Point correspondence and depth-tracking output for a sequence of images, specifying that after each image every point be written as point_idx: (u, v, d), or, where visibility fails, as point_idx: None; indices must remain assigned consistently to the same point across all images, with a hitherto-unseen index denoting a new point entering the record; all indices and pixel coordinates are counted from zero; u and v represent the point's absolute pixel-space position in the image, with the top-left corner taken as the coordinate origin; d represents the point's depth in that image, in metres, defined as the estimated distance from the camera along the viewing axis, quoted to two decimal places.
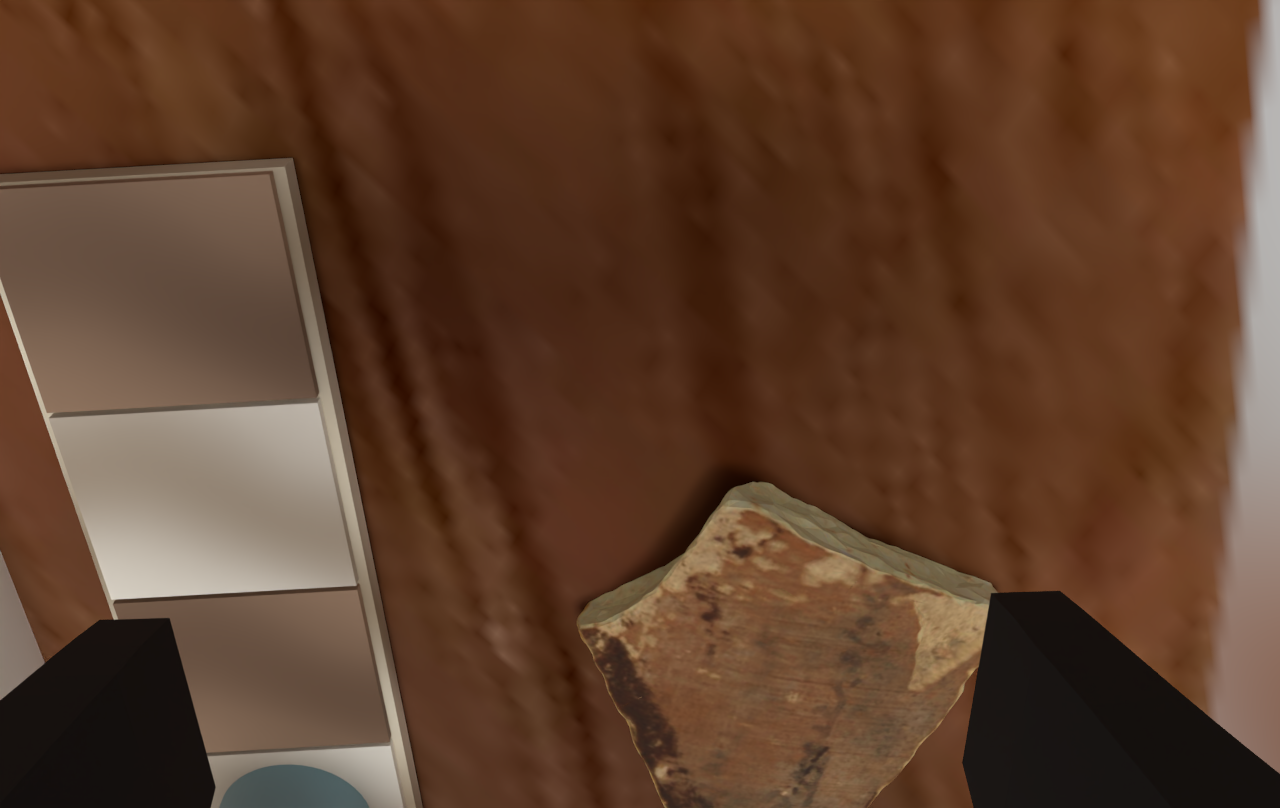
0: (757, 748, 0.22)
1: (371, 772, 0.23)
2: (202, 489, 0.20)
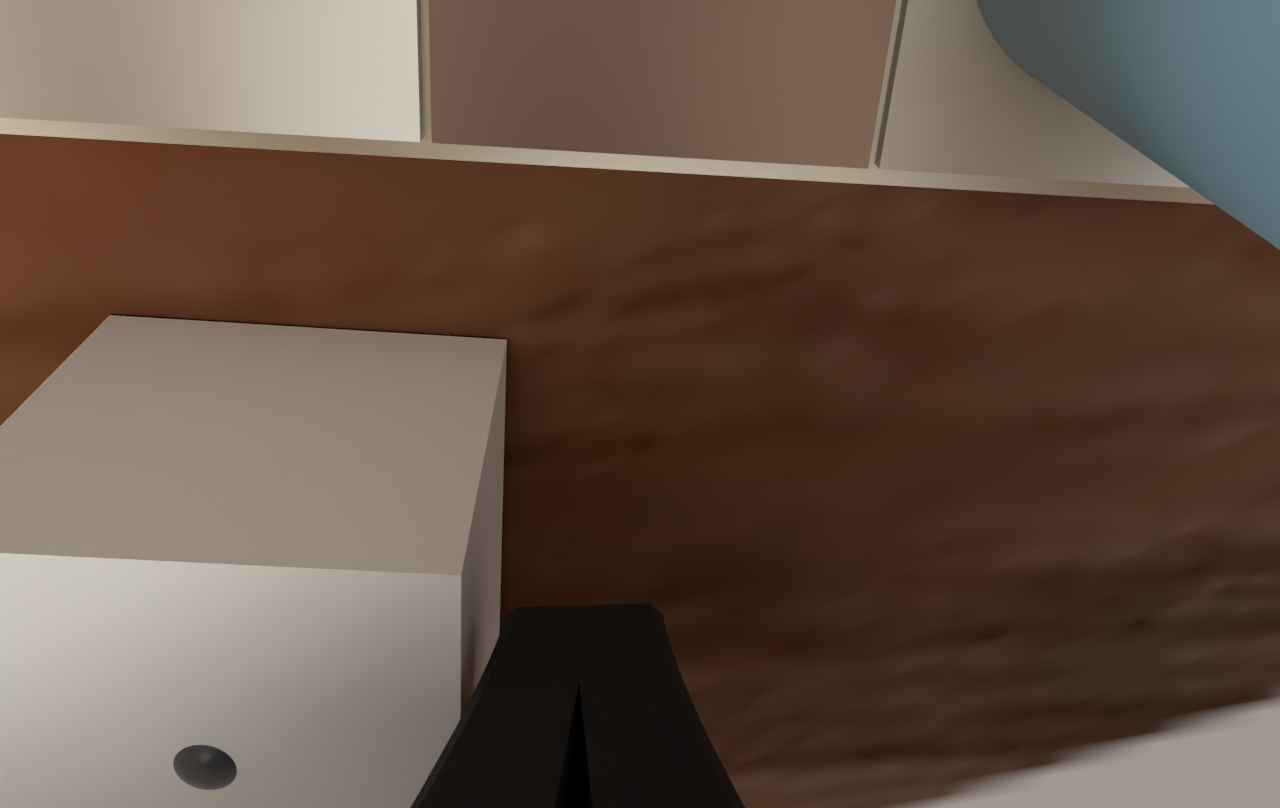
0: None
1: None
2: None
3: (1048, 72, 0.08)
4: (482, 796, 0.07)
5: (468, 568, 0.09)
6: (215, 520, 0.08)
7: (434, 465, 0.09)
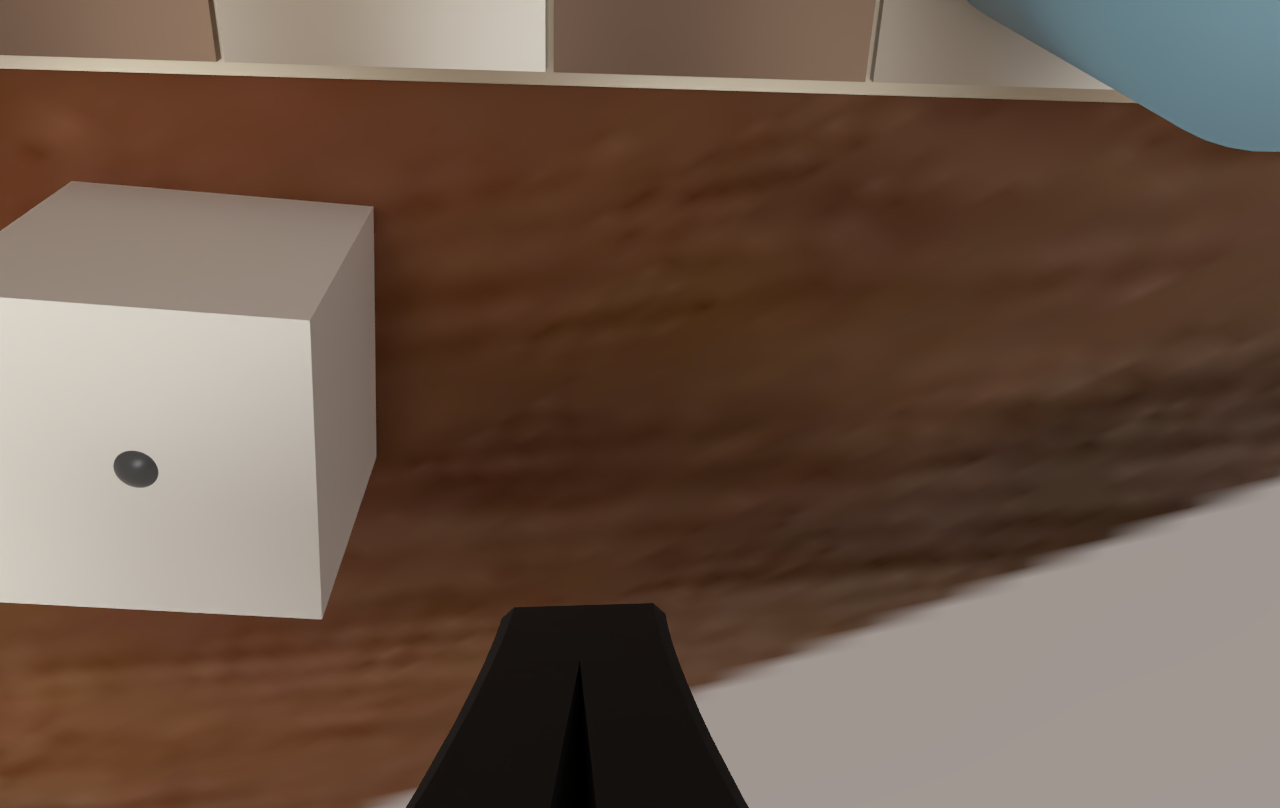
0: None
1: None
2: None
3: None
4: (478, 796, 0.07)
5: (320, 327, 0.12)
6: (144, 288, 0.12)
7: (304, 267, 0.13)
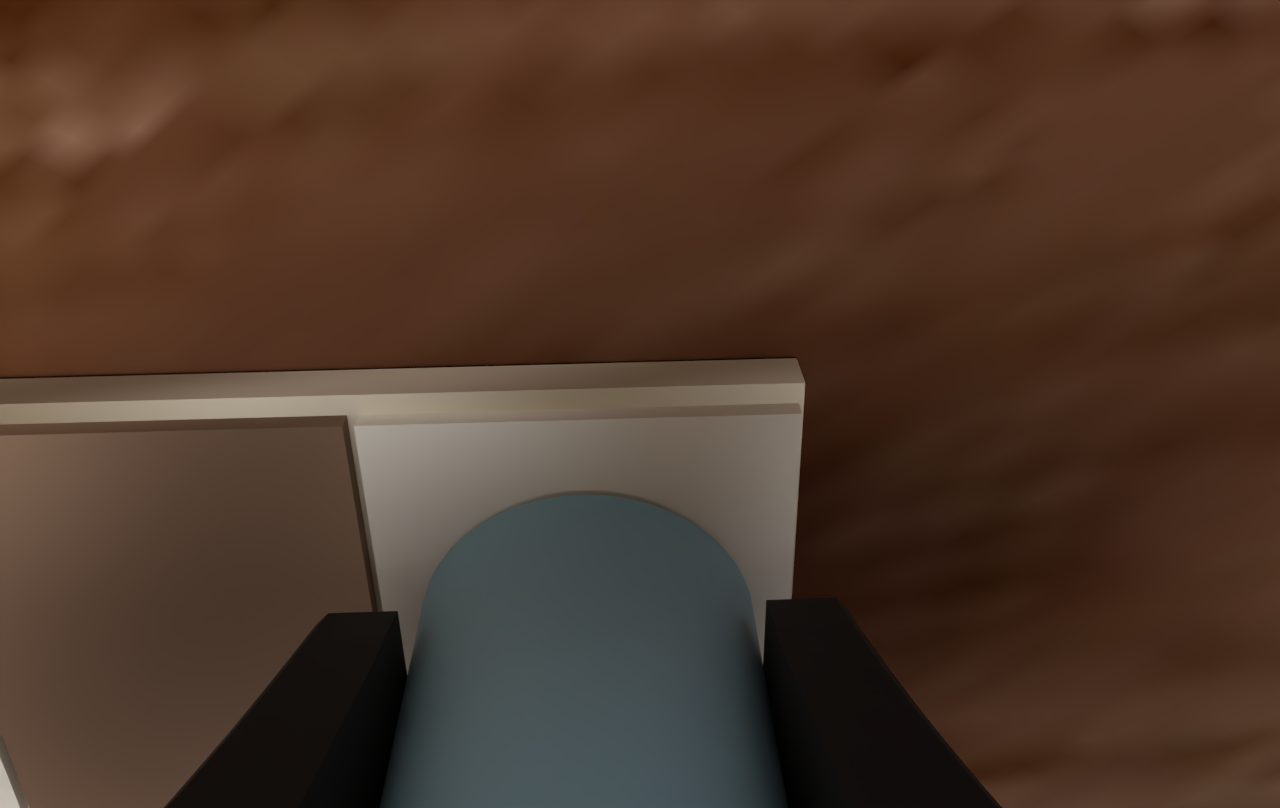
0: None
1: (442, 472, 0.10)
2: None
3: None
4: (226, 804, 0.07)
5: None
6: None
7: None
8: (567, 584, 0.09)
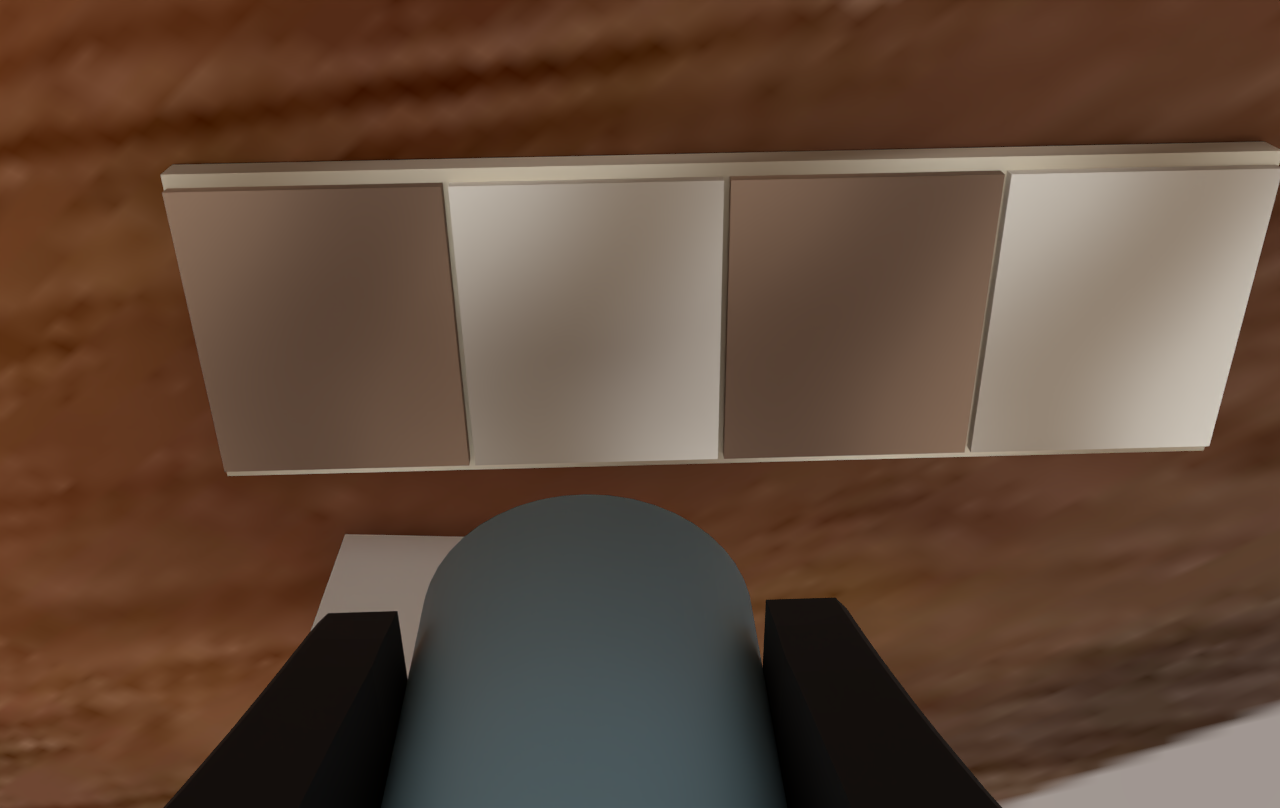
0: None
1: (1056, 207, 0.16)
2: (568, 335, 0.17)
3: None
4: (226, 804, 0.07)
5: None
6: None
7: None
8: (568, 583, 0.09)
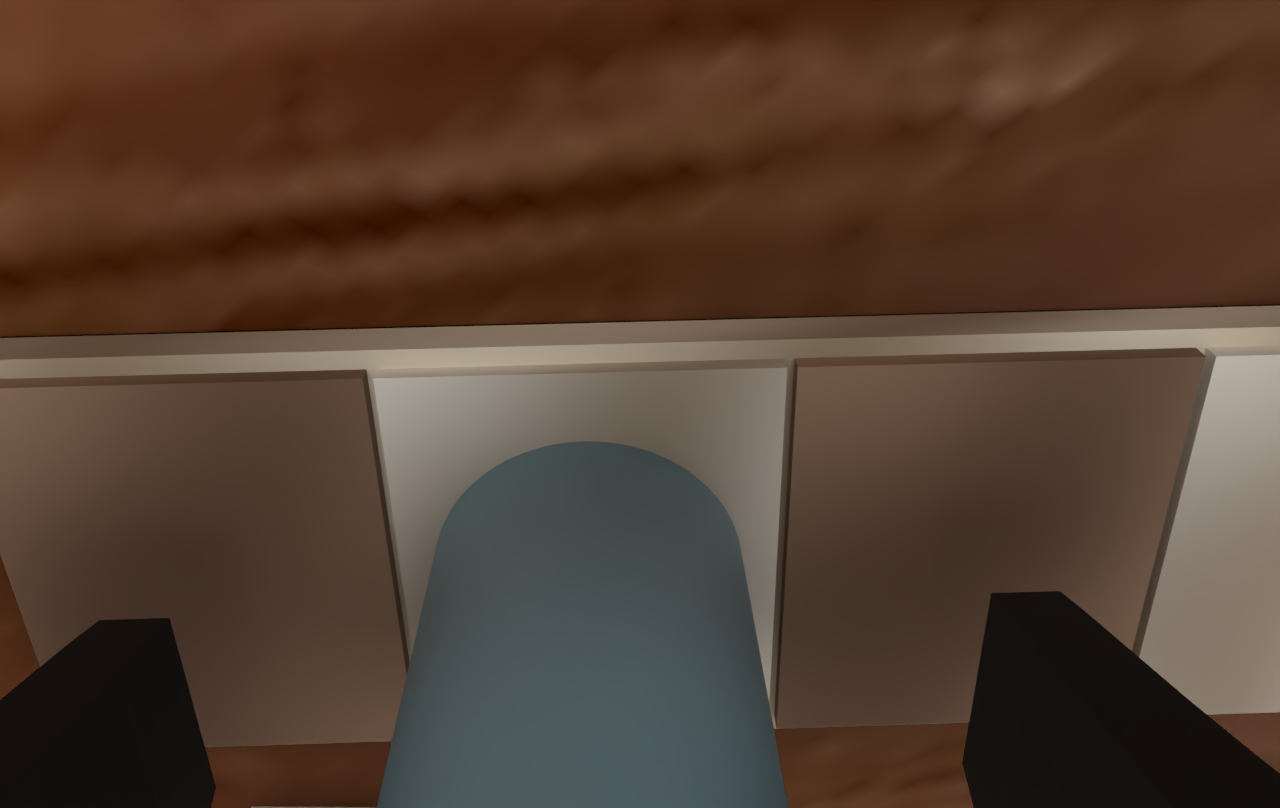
0: None
1: (1277, 401, 0.11)
2: None
3: None
4: None
5: None
6: None
7: None
8: (570, 513, 0.10)
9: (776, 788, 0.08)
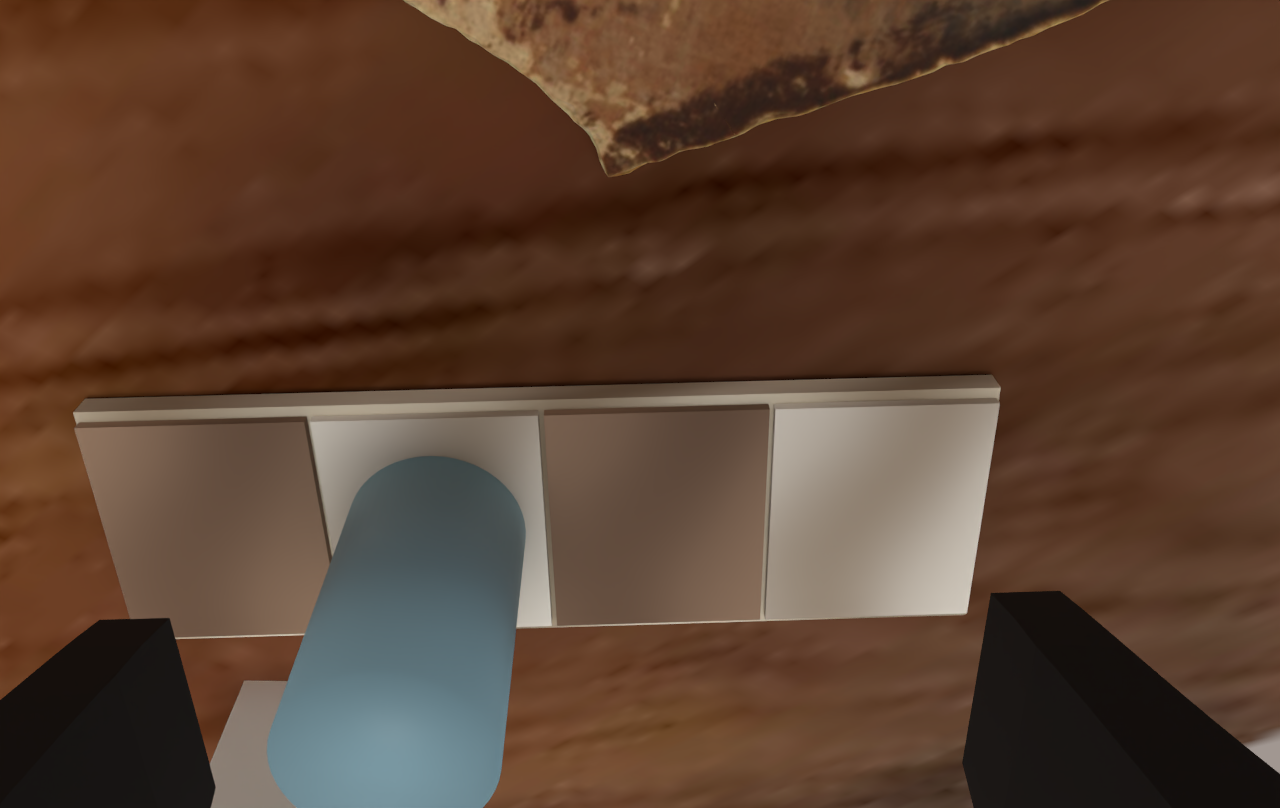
0: None
1: (815, 433, 0.19)
2: None
3: None
4: None
5: None
6: None
7: None
8: (412, 494, 0.18)
9: (497, 626, 0.17)
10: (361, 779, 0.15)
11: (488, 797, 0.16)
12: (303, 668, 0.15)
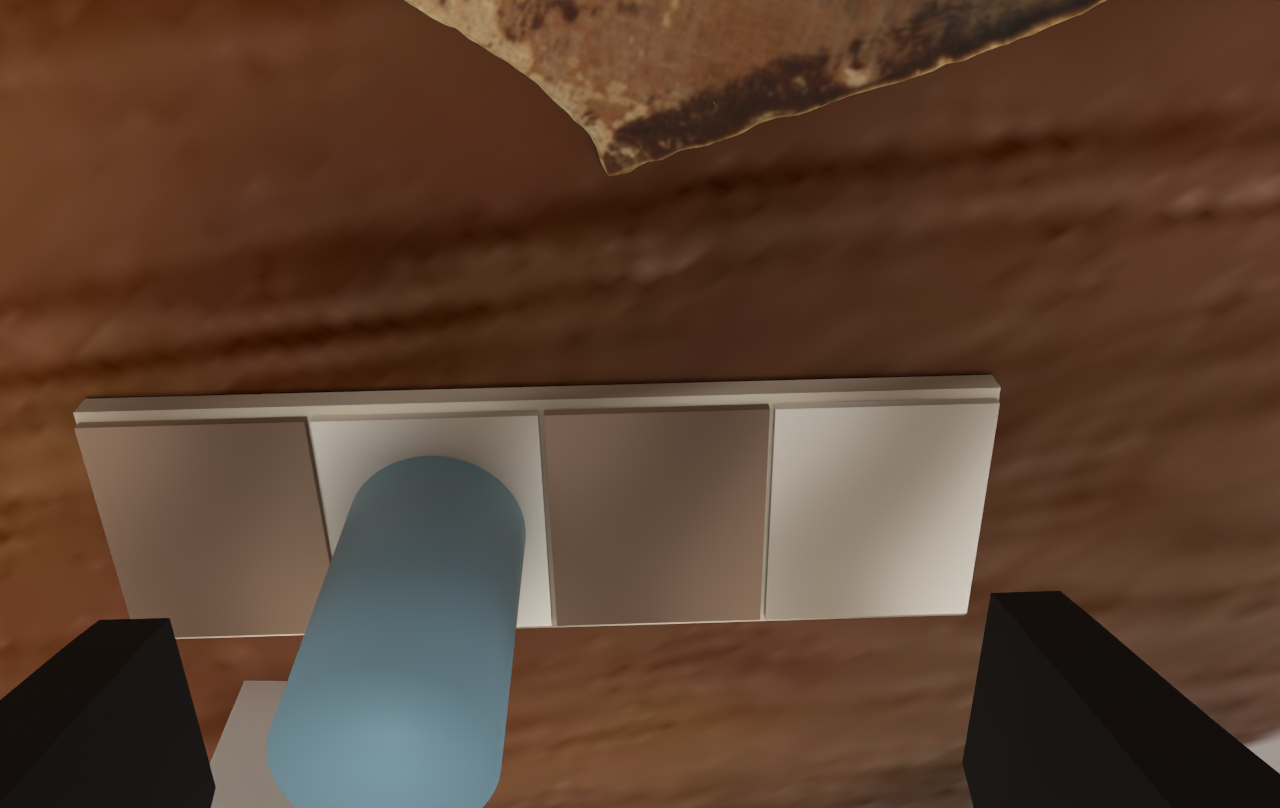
0: None
1: (815, 433, 0.19)
2: None
3: None
4: None
5: None
6: None
7: None
8: (412, 494, 0.18)
9: (497, 626, 0.17)
10: (361, 779, 0.15)
11: (488, 797, 0.16)
12: (303, 668, 0.15)
